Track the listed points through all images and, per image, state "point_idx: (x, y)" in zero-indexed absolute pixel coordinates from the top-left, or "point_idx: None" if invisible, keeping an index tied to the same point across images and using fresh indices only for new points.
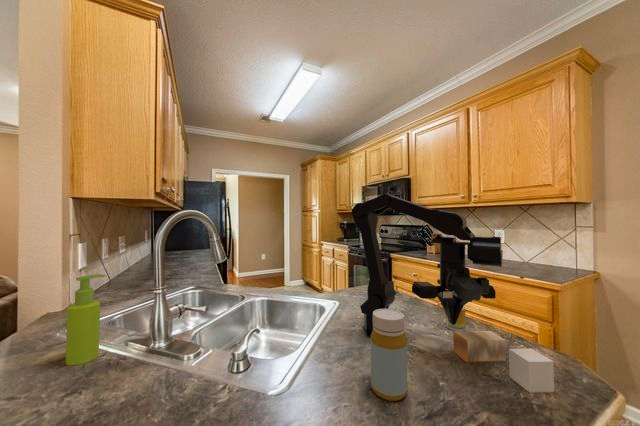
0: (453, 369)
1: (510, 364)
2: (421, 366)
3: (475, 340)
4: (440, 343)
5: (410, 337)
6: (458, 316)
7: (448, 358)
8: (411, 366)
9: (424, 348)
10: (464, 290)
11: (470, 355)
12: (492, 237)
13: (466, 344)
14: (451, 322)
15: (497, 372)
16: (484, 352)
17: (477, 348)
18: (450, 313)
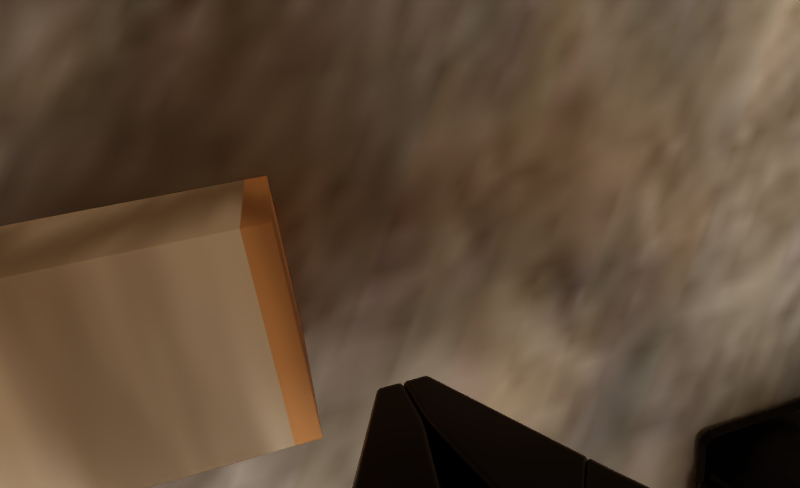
0: (415, 35)
1: None
2: (633, 52)
3: (129, 251)
4: None
5: None
6: (360, 470)
7: (391, 203)
8: (698, 44)
9: (518, 321)
10: None
11: (216, 194)
12: None
13: (254, 214)
14: (446, 388)
15: (27, 25)
16: (53, 233)
17: (126, 226)
18: (561, 453)
